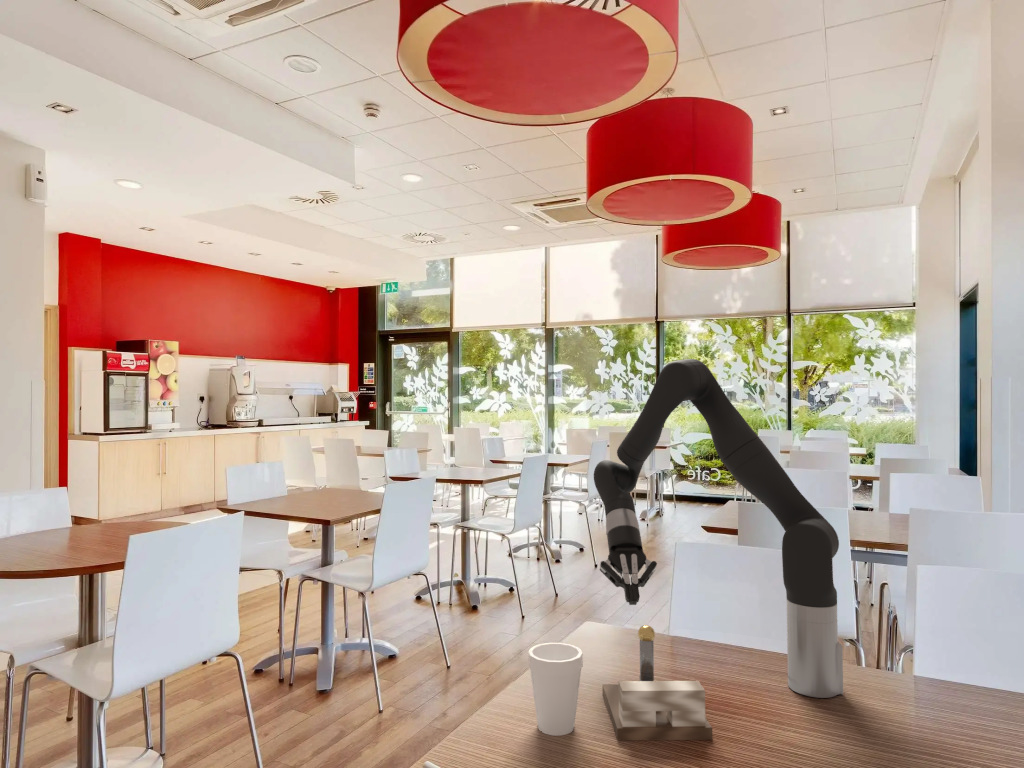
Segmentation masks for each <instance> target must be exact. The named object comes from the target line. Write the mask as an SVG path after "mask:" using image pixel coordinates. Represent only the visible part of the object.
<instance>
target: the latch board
mask: <svg viewBox="0 0 1024 768" xmlns="http://www.w3.org/2000/svg"><path fill="white" fill-rule="evenodd" d="M601 687H602V688H601V689H602V697H603V700H604V703H605V706H606V710H607V713H608V716H609V719H610V722H611V726H612V727H613V730H614V734H615V737H616V740H617V741H697V740H698V741H701V740H702V741H709V740H710V741H711V740H712V741H713V727H712V725H711V724H710V722H709V720H708V719H707V717H706V690H705V688H704V687H703V685H702V684H701V682H700V681H699V680H654V681H640V680H637V681H636V680H632V681H631V680H628V681H627V680H625V681H623V680H622V681H621V680H620V681H618V683H615V684H614V683H613V684H612V683H611V684H610V683H608V684H606V683H605V684H602V686H601Z"/></svg>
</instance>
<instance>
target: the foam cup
mask: <svg viewBox="0 0 1024 768" xmlns="http://www.w3.org/2000/svg"><path fill="white" fill-rule="evenodd" d="M583 661H584V659H583V651H582V650H581V648H580V647H578V646H576V645H573V644H569V643H564V642H546V643H539V644H536V645H534V646H532V647H531V648H530V649H529V650H528V667H529V670H530V677H531V686H532V692H533V693H532V694H533V700H534V708H535V714H536V715H535V716H536V722H537V723H536V724H537V728H538V730H539V731H540V732H541V731H542V732H541V733H543V734H546V735H548V736H556V737H557V736H559V737H560V736H565V735H568V734H571V733H572V732H573V731H574V729H575V724H576V714H577V707H578V699H579V689H580V683H581V682H580V681H581V673H582V668H583V663H584V662H583Z"/></svg>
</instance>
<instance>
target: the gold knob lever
mask: <svg viewBox="0 0 1024 768" xmlns="http://www.w3.org/2000/svg"><path fill="white" fill-rule="evenodd" d="M637 636H638V639H639V681H655V659H654V656H655V652H654V651H655V650H654V649H655V644H654V640H655V638H656V631H655V629H654V628H653V626H651V625H648V624H644V625H642V626H640V627H639V629H638V632H637Z"/></svg>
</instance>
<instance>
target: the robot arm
mask: <svg viewBox="0 0 1024 768" xmlns="http://www.w3.org/2000/svg"><path fill="white" fill-rule="evenodd" d="M653 385H654V386H653V388H652V390H651V392H650V394H649V397H648V398H647V400H646V402H645V404H644V406H643V409H642V410H641V411H640V414H639V416H638V417H637V419H636V421H635V422H634V424H633V426H632V427H631V428H630V429H629V431H628V433H627V435H625V437H624V438H623V440H622V441H621V442H620V444H619V446H618V448H617V449H616V455H617V458H618V459H619V461H620V462H622V463H623V464H621V463H619V462H615V461H612V460H608V459H606V460H605V459H604V460H601V461H600V462H598V463H597V464H596V466H595V468H594V471H593V481H594V485H595V489H596V491H597V492H598V494H599V498H600V500H601V501H602V503H603V505H604V514H605V530H606V531H605V534H606V537H607V538H606V539H607V547H608V556H607V559H606V560H602V561H600V564H599V571H600V572H601V573H602V574H603V576H605V577H606V578H607V579H608V580H609V581H610V582H611V583H612V584H613V585H614V586H615V587H616V588H619V587H620V588H623V591H624V599H625V602H626V603H628V605H629V606H636V605H637V603H639V601H640V590H639V589H640V587H641V588H644V587H645V586H646V585H647V583H648V581H649V580H650V579H651V577H652V576H653V574H654V573H655V571H656V569H657V564H658V563H657V561H656V560H653V561H652V560H649V559H648V558H647V555H646V554H645V552H644V550H643V542H642V537H641V531H640V525H639V520H638V517H637V512H636V509H635V503H634V499H633V497H632V495H631V494H630V493H631V492H632V491H634V489H636V487H637V484H638V479H639V477H640V473H641V472H642V469H643V465H644V463H645V462H646V461H647V460H648V458H649V456H650V455H651V453H652V452H653V450H654V449H655V448H656V446H657V445H658V443H659V441H660V438H661V437H662V432H663V428H664V426H665V424H666V422H667V420H668V418H669V416H670V415H671V413H673V412H674V411H675V409H676V408H677V407H679V405H681V403H683V402H686V401H687V402H688V401H689V402H690V403H691V404H692V405H693V406H694V407H695V408H696V409H697V411H698V413H700V415H701V416H702V417H703V418H704V420H705V422H706V423H707V426H708V428H709V432H710V436H711V439H712V442H713V446H714V449H715V451H716V454H717V456H718V457H719V459H720V460H721V462H722V463H723V465H724V466H725V467H726V469H727V470H728V471H729V472H730V474H731V476H732V477H734V479H735V480H736V481H737V482H738V483H739V485H740V486H742V487H743V488H744V490H746V491H747V492H748V493H750V494H751V495H752V496H753V497H755V498H756V499H757V500H759V501H760V502H761V503H762V505H764V506H765V507H766V508H767V509H768V510H769V511H770V512H771V513H772V514H773V516H775V518H776V520H777V521H778V522H779V524H780V525H781V527H782V528H783V530H784V531H785V532H784V534H783V537H782V541H781V556H782V557H781V560H782V579H783V580H782V581H783V585H784V588H785V593H786V596H785V597H786V632H787V633H786V636H787V637H786V642H787V645H786V647H787V650H786V651H787V685H788V687H789V689H790V690H791V691H794V692H795V693H798V694H800V695H802V696H806V697H810V698H811V697H812V698H820V699H824V698H826V699H827V698H834V697H836V696H837V695H844V659H843V657H844V654H843V650H844V649H843V645H842V643H840V642H839V640H838V639H839V637H838V636H839V635H838V634H839V633H838V627H839V625H838V592H837V588H835V584H834V571H833V570H834V567H833V564H834V563H833V560H834V559H833V558H834V557H835V556H836V555H837V554H838V553H837V552H839V551H838V550H839V546H840V542H839V541H840V540H839V536H838V533H837V532H836V530H835V528H834V526H833V525H831V524H830V522H829V521H828V520H827V519H826V518H825V517H824V516H823V515H822V514H821V513H820V512H819V510H817V509H816V508H815V507H814V506H813V505H812V503H811V502H810V501H809V500H808V499H807V498H806V497H805V496H804V495H803V494H802V493H801V492H800V490H799V489H798V488H797V486H796V485H795V484H794V482H793V481H792V479H791V477H790V476H789V474H787V471H785V470H784V468H783V467H782V465H781V464H780V463H779V461H778V460H777V459H776V457H775V456H774V455H773V453H772V452H771V450H770V449H769V448H768V446H767V445H766V444H765V443H764V441H762V439H761V438H760V437H759V436H758V435H759V434H757V433H756V432H755V431H754V430H753V428H752V427H751V426H750V425H749V423H748V422H747V421H746V419H745V418H744V417H743V415H742V414H741V413H740V412H739V411H738V409H737V408H736V407H735V406H734V405H733V403H732V402H731V401H730V399H729V398H728V396H727V395H726V393H725V391H724V390H723V389H722V387H721V385H720V383H719V382H718V380H717V379H716V377H715V375H714V374H713V373H712V371H711V370H710V368H709V367H708V366H707V365H706V364H705V363H704V362H703V361H701V360H698V359H695V358H686V359H685V358H684V359H678V360H673V361H671V362H667V364H665V366H663V367H662V369H661V371H660V373H659V375H658V376H657V378H656V381H655V383H654V384H653ZM643 567H644V569H645V571H644V572H643V574H641V576H640V578H639V573H640V571H641V570H642V568H643ZM618 573H619V574H618Z"/></svg>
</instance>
